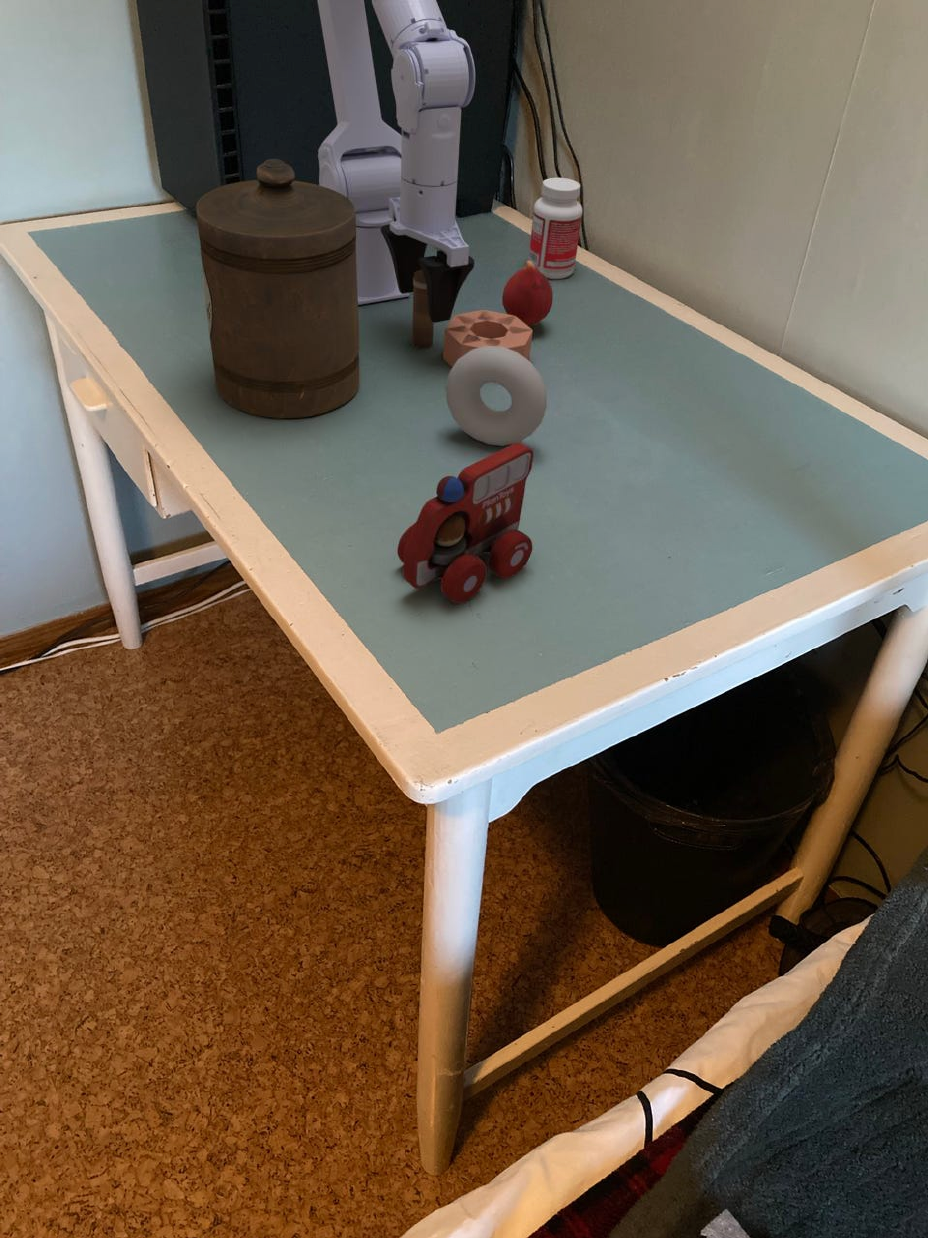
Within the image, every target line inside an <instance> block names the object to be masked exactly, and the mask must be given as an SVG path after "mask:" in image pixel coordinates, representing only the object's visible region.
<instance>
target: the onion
mask: <svg viewBox="0 0 928 1238" xmlns="http://www.w3.org/2000/svg"><path fill="white" fill-rule="evenodd" d="M524 263H525V265H524V268H521V269H519V270H518V271H516V272H515V273H514V274H513V275H511V276H510V278H509V279H508V280H507V281H506V283H505V285H504V287H503V291H502V296H501V297H502V300H501V302H502V303H501V304H502V307H503V309H504V311H505V314H508V315H513V316H516V317H517V318H519V319H520V320H521V321H522V322H523V323H525V324H526V325H527V326H528V327H529V328H531V327H533V326H535V325H537V324H539V323H540V322H541V321H543V320H544V319H545V318H547V317H548V314H550V312H551V309H552V306H553V298H554V297H553V293H554V292H553V287H552V285H551V283H550V281H549V280H548V278H546V277H545V276H544V275H543V274H542V273H541V272H540V271H539V270H538V269H537V268H536V267H535V266H534V264H533V262H531V261H528V260H527V261H525V262H524Z"/></svg>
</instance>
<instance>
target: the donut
mask: <svg viewBox="0 0 928 1238" xmlns="http://www.w3.org/2000/svg"><path fill="white" fill-rule="evenodd" d="M543 380H544V379H543V378H542V375H541V373H540V372H539V371H538V370H537V369H536V367H535V366H534V364H533V363H532V362H531V361H530V360H529V361H528V360H527V359H526V358H525V357H523V356H522V355H521V354H519V353H518V352H515V351H513V350H510V349H507V348H505V347H498V346H484V347H480V348H476V349H472V350H471V351H469V352H468V353H466V354H465V355H464V356H462V357H461V358H459V359H458V360H457V362H456V363H455V365H454V366H453V368H452V367H451V369H450V370H449V373H448V376H447V381H446V385H445V398H446V404H447V407H448V409H449V412H450V414H451V417H452V418H453V421H455V423H456V424H457V425H458V427H460V429H461V430H462V431H463V432H465V433H466V434H467V435H468V436H470V437H471V438H472V439H474V440H476V441H479V442H481V443H484V444H486V445H490V446H492V445H493V446H498V447H499V446H500V447H501V446H502V447H503V446H504V447H505V446H510V445H512V444H514V443H517V442H518V443H521V442H522V441H524V440H526V439H528V438H529V437H531V436H532V435H533V434H534V433H535V431H536V430H537V429H538V428H539V427H540V426H541V424H542V422H543V419H544V416H545V414H546V413H545V412H546V410H547V407H548V405H547V404H548V403H547V389H546V386H545V384H544V381H543ZM490 383H495V384H497V385H500V386H501V387H503V388H504V390H506V391H507V393H509V395H510V398H511V403H510V406H509V407H508V408H507V409H505V410H497V409H494V408H492V407H490V406H489V405H487V404H486V403H485V401H484V400H483V399H482V395H481V390H482V387H483V386H484V385H485V384H490Z"/></svg>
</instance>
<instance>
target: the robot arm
mask: <svg viewBox="0 0 928 1238" xmlns="http://www.w3.org/2000/svg"><path fill="white" fill-rule="evenodd" d="M371 4H372V7H373V9H374V12H375V14H376V17H377V20H378V22H379V25H380V27H381V30H382V33H383V36H384V38H385V41H386V43H387V46H388V48H389V50H390V53H391V55H392V59H393V63H392V68H391V71H390V72H391V73H390V75H391V76H390V77H391V83H392V84H391V85H392V90H393V94H394V98H395V99H394V100H395V105H396V107H395V108H396V120H397V125H398V126H399V127H400V128H401V134H400V133H399V132H398V131H396V130H395V129H394V128H392V127H391V126H389V125H388V124H387V123H386V122H385V121H384V120H383V119H382V113H381V107H380V100H379V94H378V87H377V82H376V79H377V78H376V74H375V67H374V60H373V52H372V47H371V46H372V45H371V40H370V39H371V38H370V35H369V26H368V19H367V13H366V7H365V0H317V5H318V6H317V7H318V13H319V17H320V24H321V30H322V36H323V41H324V42H323V43H324V48H325V49H324V50H325V55H326V60H327V66H328V72H329V78H330V79H329V80H330V85H331V91H332V97H333V104H334V110H335V116H336V121H337V124H336V127H335V128H334V129H333V130H332V131H330V133H329V135H327V137H326V138H325V139H324V140H323V142H322V143H321V144H320V146H319V148H318V150H317V152H318V154H317V158H318V165H319V166H318V167H319V175H318V178H319V179H318V183H319V184H318V185H319V186H323V187H326V188H329V189H332V190H334V191H336V192H338V193H340V194H342V195H344V196H345V197H347V198H348V199H349V200H350V201H351V202H352V203H353V205H354V208H355V217H356V266H357V295H358V306H359V305H366V304H371V303H376V302H377V303H378V302H382V301H388V300H395V299H402V298H406V297H409V296H410V294H411V293H413V288H414V285H413V278H414V273H415V272H416V271H418V270H422V271H423V274H424V277H425V281H426V286H427V293H428V309H429V316H430V320H431V321H432V322H433V323H434V324H435V323H441V322H446V321H451V317H452V313H453V311H454V307H455V305H456V301H457V299H458V296H459V293H460V291H461V289H462V286H463V285H464V283H465V281H466V279H467V277H469V276H468V275H469V274H470V273H471V272H472V270H474V268H475V259H474V258H473V257H472V256H470V255H469V254H470V250H469V249H470V245H469V244H467V242H465V241H464V239H463V236H462V233H461V230H460V228H459V225H458V222H457V221H456V209H457V208H456V207H457V192H458V191H457V189H458V174H459V155H460V139H461V124H462V123H461V120H462V109H461V108H465V107H467V106H468V105H469V104H470V103H471V100H472V99H473V96H474V92H475V86H476V68H475V62H474V58H473V54H472V51H471V47H470V45H469V44H468V42H467V41H466V40H465V39H464V38H462V37H459V36H458V35H457V33H456V30H454V29H449V28H447V27H448V26H447V24H446V22H445V20H444V17H443V15H442V12H441V9H440V7H439V5H438V2H437V0H371ZM367 152H375V153H372V154H363V155H353V156H352V155H351V156H343V155H346V154H357V153H358V154H359V153H367ZM428 245H429V246H431V247H432V248H433V249H435V250H436V255H432V256H431V255H430V256H425V255H426V251H427V247H428Z"/></svg>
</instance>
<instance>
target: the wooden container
mask: <svg viewBox="0 0 928 1238" xmlns="http://www.w3.org/2000/svg"><path fill="white" fill-rule="evenodd" d="M295 177H296V175H295V171H294V170H293V168H292V166H290V165H289V164H287V163H285V162H284V160H281V159H279V158H270V159H266V160H265V161H264V162H263V163H261V164H259V165H258V166H257V168H256V178H257V179H253V180H245V181H244V180H243V181H238V182H233V183H232V182H231V183H229V184H225V185H221V186H218V187H216V188H214V189H212V190H210V191H208V192H207V193H205V194H203V195H201V197H200V198H199V200H198V201H197V203H196V205H195V207H196V220H197V221H196V222H197V230H198V237H199V242H200V244H199V245H200V254H201V266H202V275H203V277H202V278H203V286H204V296H205V298H204V299H205V308H206V317H207V319H206V320H207V328H208V334H209V342H210V350H211V356H212V364H213V365H212V366H213V371H214V372H213V373H214V380H215V386H216V389H217V392H218V394H219V395H220V397H221V398H222V399H223V400H224V401H225V402H227V403H228V405H229V404H230V406H232V407H233V408H236V409H238V410H240V411H243V412H246V413H248V414H251V415H255V416H259V417H260V416H261V417H264V418H265V417H266V418H274V419H275V418H276V419H298V418H299V419H300V418H308V417H312V416H317V415H322V414H325V413H329V412H330V411H334V410H335V409H338V408H340V407H342V406H344V405H345V404H346V403H347V402H349V401H350V400H352V398H353V397H354V396H355V395H356V393H357V391H358V389H359V386H360V320H359V305H358V295H357V266H356V217H355V208H354V205H353V203H352V202H351V201H350V200H349V199H348V198H347V197H345V196H344V195H342V194H340V193H338V192H336V191H334V190H332V189H329V188H326V187H323V186H319V184H314V183H310V182H304V181H299V180H295Z"/></svg>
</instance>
